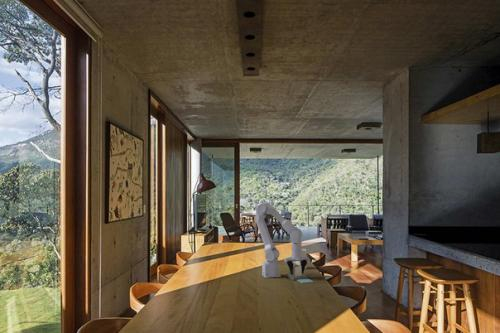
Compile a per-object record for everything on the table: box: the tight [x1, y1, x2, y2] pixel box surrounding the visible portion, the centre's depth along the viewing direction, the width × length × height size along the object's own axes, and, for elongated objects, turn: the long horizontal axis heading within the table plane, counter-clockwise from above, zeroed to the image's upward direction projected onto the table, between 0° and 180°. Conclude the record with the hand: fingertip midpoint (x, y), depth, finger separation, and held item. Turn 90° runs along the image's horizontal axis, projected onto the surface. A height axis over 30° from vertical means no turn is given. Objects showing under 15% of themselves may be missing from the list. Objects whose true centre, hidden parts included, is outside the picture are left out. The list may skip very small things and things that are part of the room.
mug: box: [290, 248, 308, 270], centre depth 255 cm, size 10×7×12 cm, turn 80°
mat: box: [296, 278, 315, 284], centre depth 219 cm, size 7×7×1 cm
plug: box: [293, 264, 302, 276], centre depth 228 cm, size 4×4×7 cm
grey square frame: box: [286, 273, 308, 281], centre depth 228 cm, size 9×9×2 cm
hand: (297, 273), depth 228 cm, fingers open, 6 cm apart
